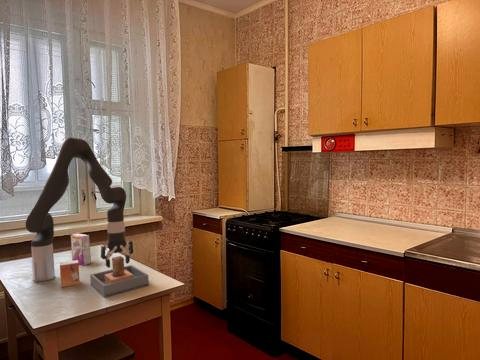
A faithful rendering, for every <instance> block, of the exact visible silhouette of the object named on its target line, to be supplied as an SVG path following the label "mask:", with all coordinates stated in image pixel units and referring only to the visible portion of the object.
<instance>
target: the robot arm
mask: <svg viewBox="0 0 480 360" xmlns="http://www.w3.org/2000/svg"><path fill="white" fill-rule="evenodd" d="M56 157H57V158H56V160H55V162H54V165H53V167H52V169H51V173H50V174H49V176H48V177H47V180H46V182H45V184H44V186H43V189H42V191H41V193H40V194H39V197H38V199H37V201H36V203H35V205H34V206H33V208H32V209H31V211H30V213H29V214H28V216H27V218H26V220H25V228H26V231H28V232H29V233H31V234H32V233H33V234H35V233H36V234H35V236H34V237H33V238H32V240H31V241H30V247H31V248H30V250H31V258H32V259H31V270H32V279H33V281H34V282H35V283H38V282H46V281H50V280H52V279H55V277H56V274H55V271H56V270H55V261H54V246H53V245H54V244H53V243H54V242H53V240H54V237H55V226H54V225H55V224H54V218H53V216H52V214H51V213H49V212H50V211H51V209H52V208H53V207H54V206H55V205H56V204H57V203H58V202H59V201H60V200H61V199H62V197H63V196H64V194H65V193H66V191H67V189H68V187H69V185H70V177H69V176H70V175H69V167H70V165H71V162H72V160H73V158H75V159H80V160H81V161H83V163H84V164H85V165H86V167H87V171H88V175H89V178H90V179H91V181H93V183H94V184H95V186H97V189H98V192H99V194H100V196H101V198H102V200H103V201H104V202H105V203H107V204H109V205H110V204H112V207H111V208H109V209H107V210H106V211H107V212H106V213H107V214H106V216H107V217H106V218H107V225H106V226H107V227H106V229H107V230H106V231H107V245H106V244H105V245H103V244H101V245H100V258H101V259H102V260H105V267H107V268H111V257H112V256H113V254H117V253H122V252H123V253H124V254H125V255H124V262H125V263H126V264H129V263H130V262H131V261H130V258H131V257H130V255H132V254H133V253H134V245H133V241H132V240H128V241H126V225H125V222H124V221H125V220H124V215H125V214H124V211H125V207H126V202H127V201H126V200H127V192H126V190H125V189H124V188H123V187H121V186H115V187H111V186H112V184H113V179H112V178H111V177H110V175H109V174H108V173H107V172H106V170H105V169H104V168H103V167H102V165H101V164H100V162H99V160H98V159H97V157H96V155H95V153H94V151H93V150H92V148H91V146H90V144H89V143H88V142H87V141H86V140H85V139H81V138H76V137H67V138H66V139H65V140H63V142H62V144H61V146H60V149H59V151H58V155H57V156H56ZM126 246H128V249H126ZM107 249H109V250H108V251H107ZM106 251H107V253H106Z"/></svg>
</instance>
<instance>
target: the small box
mask: <svg viewBox="0 0 480 360" xmlns="http://www.w3.org/2000/svg"><path fill="white" fill-rule="evenodd" d="M79 267H80V264H79V263H78V260H75V261H72V260H70V261H63V262H59V277H60V288H65V287H71V286H78V285H80V284H81V283H80V268H79Z"/></svg>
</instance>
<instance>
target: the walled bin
mask: <svg viewBox="0 0 480 360" xmlns="http://www.w3.org/2000/svg"><path fill="white" fill-rule="evenodd" d="M124 271H125V275H124V276H120V277H113V268H112V269H107V270H104V271H99V272H96V273H90V274H89V277H90V279H89V281H90V285H91V287H92V288H93V289H95V290H96V291H97V292H98V293H99V294H100V295H101V296H102V297H103V298H108V297H111V296H115V295H118V294H123V293H126V292H130V291H133V290H137V289H140V288H144V287H148V286H150V285H149V284H150V282H149V281H150V280H149V274H147V273H146V272H145V271H142V270H140V269H139V268H137V267H136V266H134V265H132V264H130V265H126V266H125V265H124Z"/></svg>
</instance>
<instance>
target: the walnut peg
mask: <svg viewBox="0 0 480 360" xmlns="http://www.w3.org/2000/svg"><path fill="white" fill-rule="evenodd" d="M111 264H112V269H113V277H120V276H124V275H125V271H124V267H125V257H123V256H121V255H120V256H119V255H118V256H114V257H112V258H111Z"/></svg>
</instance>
